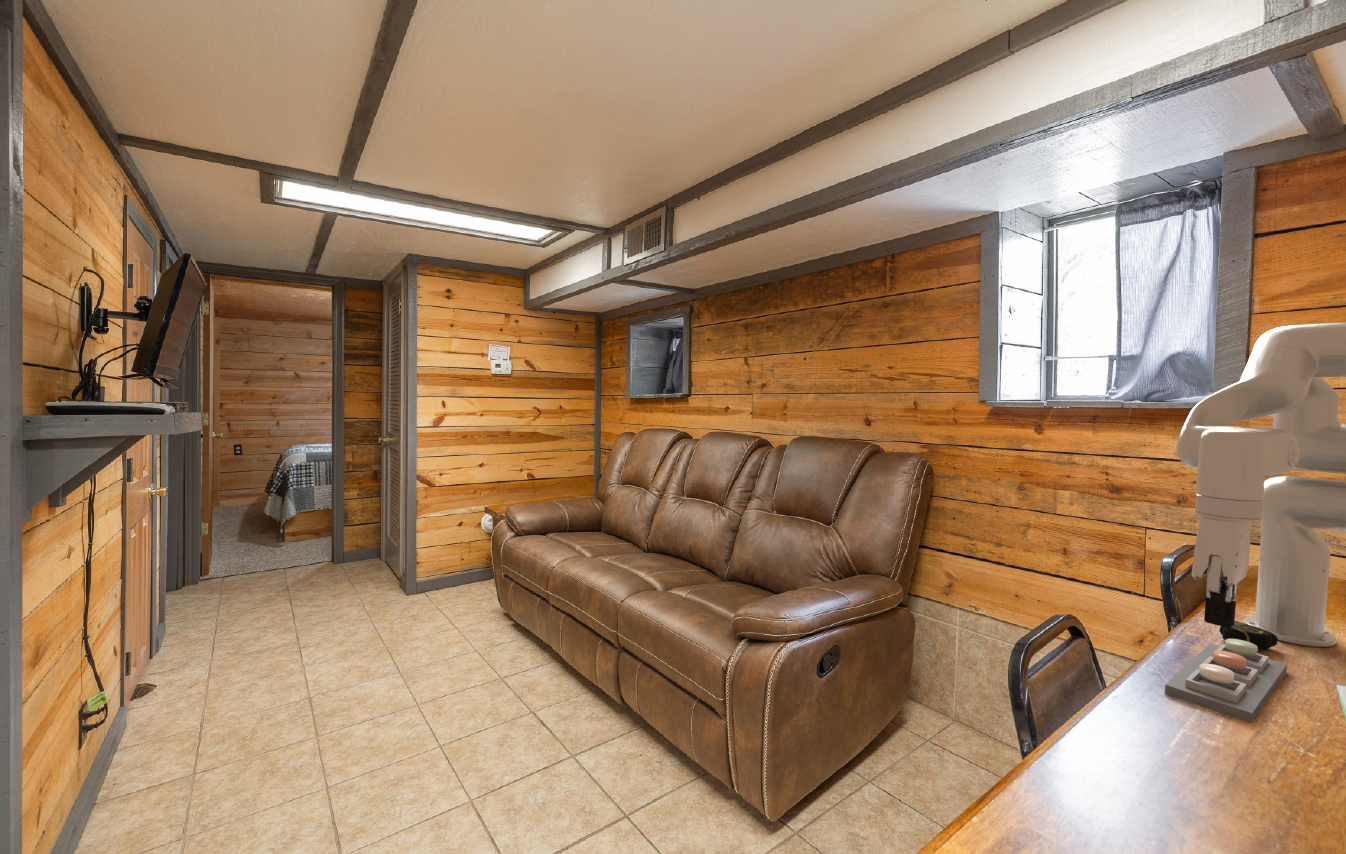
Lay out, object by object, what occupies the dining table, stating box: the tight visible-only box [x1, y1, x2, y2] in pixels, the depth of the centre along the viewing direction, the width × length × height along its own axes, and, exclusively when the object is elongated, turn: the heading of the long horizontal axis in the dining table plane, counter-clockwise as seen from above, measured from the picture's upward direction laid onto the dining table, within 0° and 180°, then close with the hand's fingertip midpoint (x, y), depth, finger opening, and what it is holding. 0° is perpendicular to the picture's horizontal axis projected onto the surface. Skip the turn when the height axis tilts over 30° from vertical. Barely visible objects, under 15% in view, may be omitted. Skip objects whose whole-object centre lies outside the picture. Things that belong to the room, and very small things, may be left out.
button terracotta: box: [1213, 651, 1247, 669], centre depth 96 cm, size 4×4×1 cm
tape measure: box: [1219, 620, 1278, 651], centre depth 111 cm, size 7×7×4 cm
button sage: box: [1224, 639, 1259, 656], centre depth 101 cm, size 4×4×1 cm
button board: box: [1164, 642, 1288, 724], centre depth 97 cm, size 26×10×3 cm, turn 125°
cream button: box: [1199, 664, 1234, 683], centre depth 92 cm, size 4×4×1 cm
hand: (1218, 623), depth 91 cm, fingers closed
